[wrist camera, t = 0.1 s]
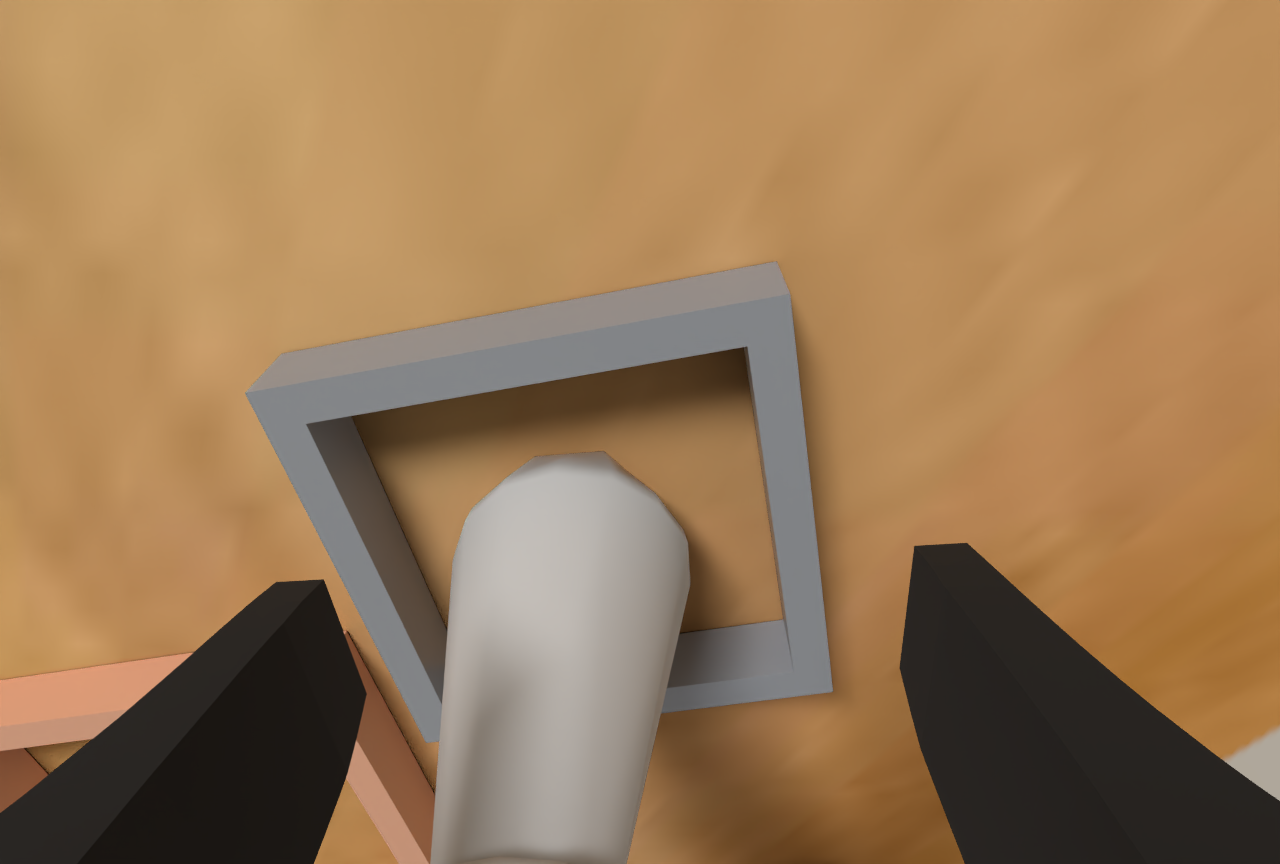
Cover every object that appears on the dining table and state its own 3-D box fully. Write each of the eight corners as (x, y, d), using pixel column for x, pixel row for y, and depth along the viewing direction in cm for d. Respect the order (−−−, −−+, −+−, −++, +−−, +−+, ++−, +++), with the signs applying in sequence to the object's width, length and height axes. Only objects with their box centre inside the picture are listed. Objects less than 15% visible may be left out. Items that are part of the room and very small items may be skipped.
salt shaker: (703, 434, 20) (770, 1022, 9) (671, 600, 23) (691, 1199, 12) (474, 408, 20) (248, 985, 9) (471, 580, 23) (299, 1176, 12)
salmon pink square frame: (483, 885, 31) (473, 940, 29) (157, 919, 32) (129, 973, 31) (346, 630, 24) (322, 682, 22) (-62, 689, 25) (-114, 742, 24)
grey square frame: (819, 638, 24) (833, 691, 22) (441, 689, 25) (426, 743, 23) (776, 261, 18) (789, 294, 16) (281, 353, 19) (244, 392, 17)
